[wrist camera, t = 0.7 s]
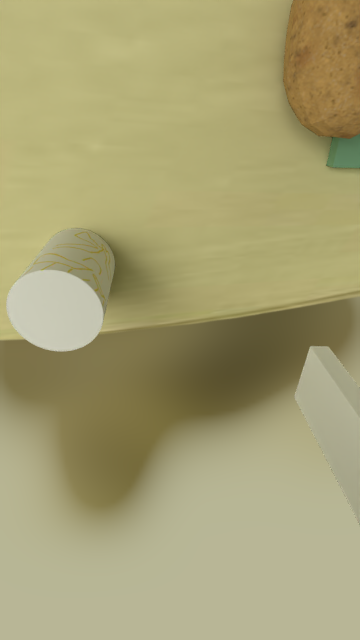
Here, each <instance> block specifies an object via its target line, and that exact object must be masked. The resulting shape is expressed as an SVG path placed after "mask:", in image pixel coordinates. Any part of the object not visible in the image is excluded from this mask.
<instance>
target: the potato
mask: <svg viewBox="0 0 360 640" xmlns="http://www.w3.org/2000/svg"><path fill="white" fill-rule="evenodd" d="M283 82H284V86H285V90H286V94H287V98H288V102H289V104H290V106H291V107H292V109H293V111H294V113H295V115H296V116H297V118H298V120H299V121H300V123H301V124H302V125H303V126H305V127H306V128H308V129H309V130H311V131H312V132H314V133H315V134H317V135H318V136H330V137H338V138H347V139H350V138H352V137H354V136H356V135H358V134H360V0H293V3H292V6H291V11H290V17H289V23H288V28H287V35H286V45H285V55H284V77H283Z"/></svg>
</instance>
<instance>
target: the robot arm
mask: <svg viewBox="0 0 360 640" xmlns="http://www.w3.org/2000/svg"><path fill="white" fill-rule="evenodd" d="M295 399H296V401H297V403H298V405H299V407H300V409H301V411H302V413H303V415H304V417H305V419H306V421H307V423H308V424H309V427H310V429H311V431H312V432H313V434H314V436H315V438H316V440H317V442H318V444H319V446H320V448H321V450H322V452H323V454H324V456H325V458H326V460H327V462H328V464H329V466H330V468H331V470H332V471H333V474H334V476H335V478H336V479H337V482H338V483H339V485H340V487H341V489H342V491H343V493H344V495H345V497H346V499H347V501H348V503H349V505H350V507H351V509H352V511H353V513H354V515H355V517H356V519H357V521H358V523H359V525H360V387H359V386H358V385H357V383H356V382H355V381H354V379H353V378H352V377H351V375H350V374H349V373H348V371H347V370H346V369H345V368H344V366H343V365H342V364H341V362H340V361H339V360H338V358H337V357H336V356H335V354H334V353H333V352H332V351H331V349H330V348H329V347H328V346H310V349H309V352H308V355H307V358H306V362H305V365H304V368H303V371H302V374H301V377H300V381H299V384H298V387H297V390H296V393H295Z"/></svg>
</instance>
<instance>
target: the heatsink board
mask: <svg viewBox="0 0 360 640" xmlns="http://www.w3.org/2000/svg"><path fill="white" fill-rule="evenodd" d="M326 166H330V167H339V168H360V134H358V135H356V136H354V137H352V138H350V139H347V138H338V137H333V138H332V143H331V147H330V152H329V156H328V160H327V165H326Z"/></svg>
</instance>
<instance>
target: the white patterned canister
mask: <svg viewBox="0 0 360 640" xmlns="http://www.w3.org/2000/svg"><path fill="white" fill-rule="evenodd" d="M114 271H115V259H114V255H113V252H112V250H111V248H110V247H109V245H108V244H107V243H106V242H105V241H104V240H103V239H102V238H101V237H100V236H98V235H97V234H95V233H93V232H91V231H89V230H85V229H80V228H71V229H66V230H63V231H60V232H58V233H57V234H55V235H54V236H53V237H52V238H51V239H50V240H49V241H48V243H47V244H46V245H45V246H44V247H43V249H42V250H41V251H40V252H39V254H38V255H37V256H36V257H35V259H34V260H33V261H32V262H31V264H30V265H29V266H28V267H27V269H26V270H25V271H24V272H23V274H22V275H21V276H20V277H19V279H18V280H17V281H16V282H15V284H14V285H13V286H12V288H11V289H10V291H9V294H8V297H7V305H6V306H7V313H8V317H9V319H10V321H11V323H12V325H13V327H14V328H15V329H16V331H17V332H18V333H19V334H20V335H21V336H22V337H23V338H25V339H26V340H27V341H29V342H30V343H32V344H34V345H36V346H38V347H41V348H44V349H47V350H52V351H70V350H75V349H78V348H81V347H83V346H85V345H87V344H88V343H90V342H91V341H92V340H93V339H94V338H95V337H96V336H97V335H98V333H99V331H100V330H101V327H102V324H103V319H104V315H105V311H106V306H107V302H108V297H109V293H110V288H111V284H112V280H113V275H114Z"/></svg>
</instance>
